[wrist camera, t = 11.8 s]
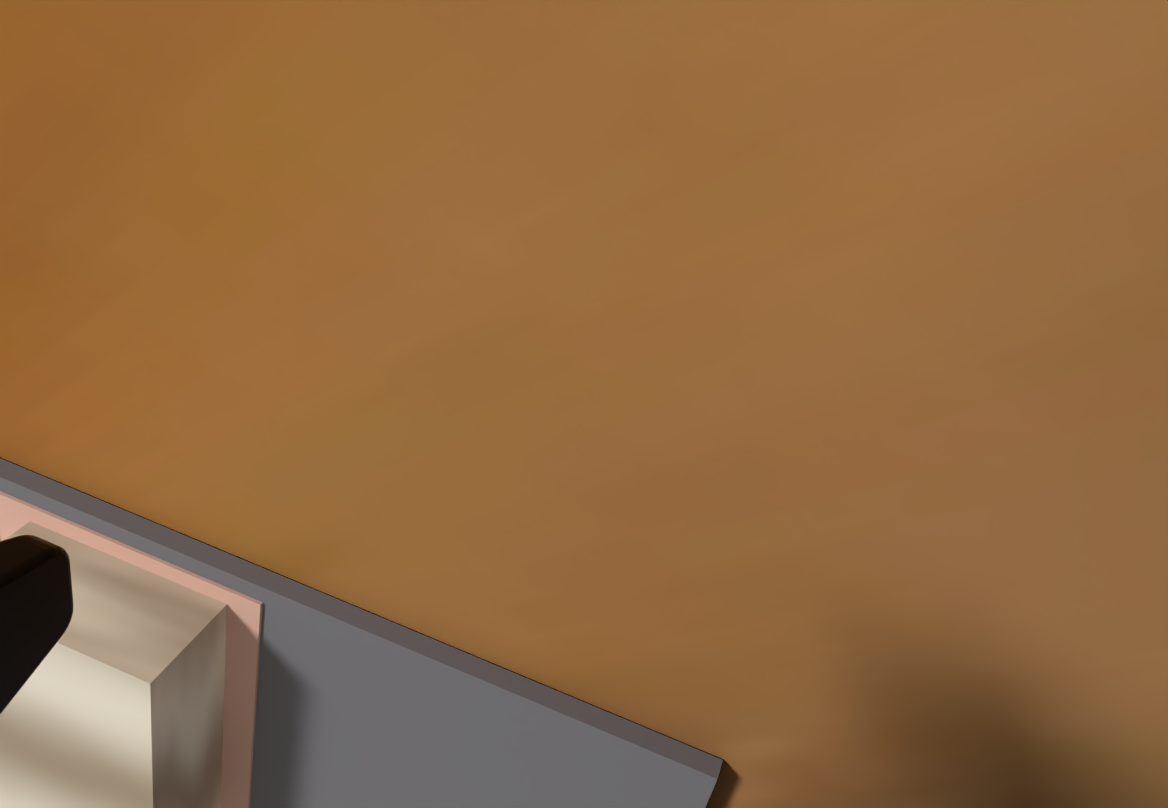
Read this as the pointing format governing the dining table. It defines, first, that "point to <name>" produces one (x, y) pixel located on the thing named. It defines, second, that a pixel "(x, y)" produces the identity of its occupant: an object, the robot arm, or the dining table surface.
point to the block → (120, 695)
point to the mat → (373, 694)
